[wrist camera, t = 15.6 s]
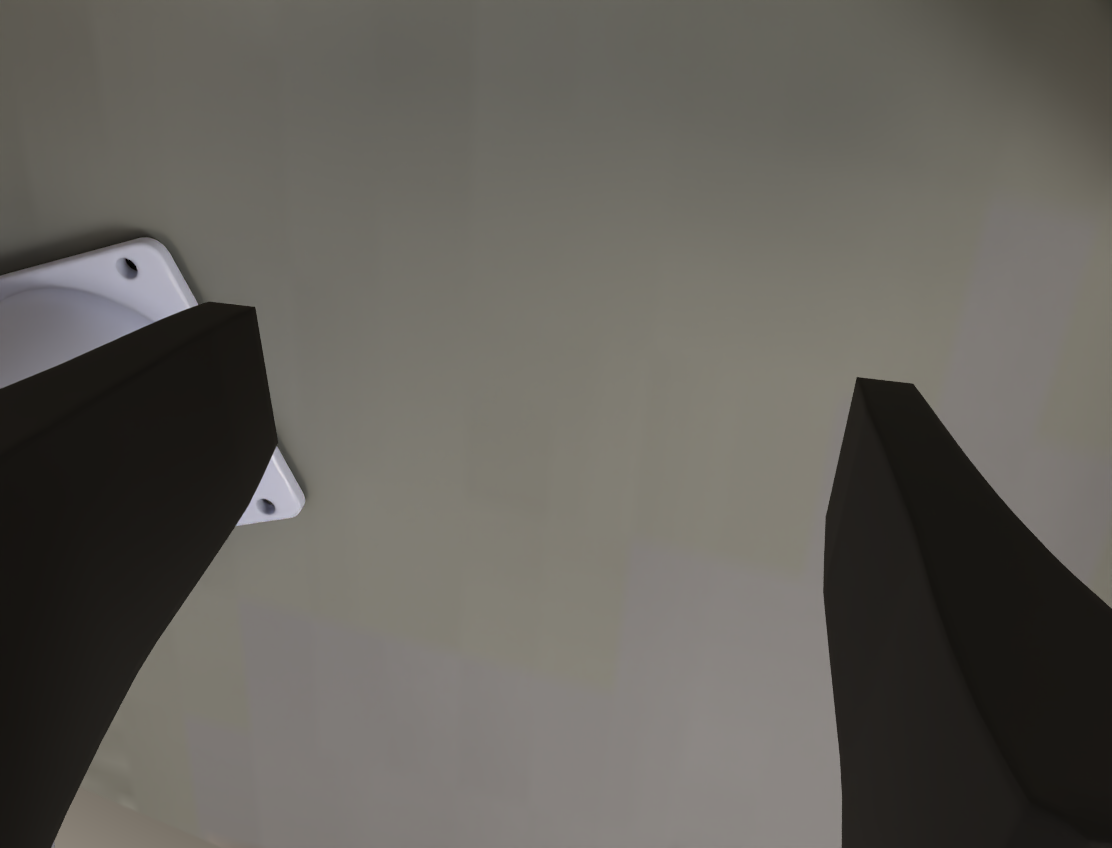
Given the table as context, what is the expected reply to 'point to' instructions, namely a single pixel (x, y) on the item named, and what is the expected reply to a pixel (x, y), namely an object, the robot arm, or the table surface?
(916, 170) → the table surface
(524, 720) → the table surface
